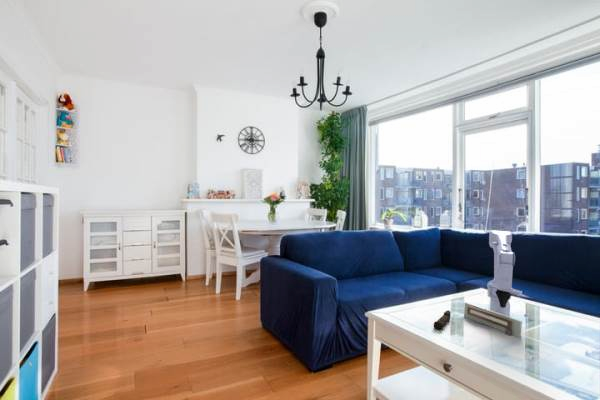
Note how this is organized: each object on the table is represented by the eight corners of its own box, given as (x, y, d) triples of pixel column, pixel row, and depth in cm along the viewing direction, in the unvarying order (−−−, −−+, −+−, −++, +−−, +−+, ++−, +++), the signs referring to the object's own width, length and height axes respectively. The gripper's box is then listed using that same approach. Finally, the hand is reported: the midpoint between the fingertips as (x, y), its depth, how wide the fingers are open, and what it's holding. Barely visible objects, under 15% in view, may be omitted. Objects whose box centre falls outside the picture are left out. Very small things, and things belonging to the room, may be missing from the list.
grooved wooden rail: (468, 313, 164) (468, 305, 164) (511, 329, 146) (511, 320, 146) (467, 314, 163) (467, 306, 163) (509, 329, 146) (510, 320, 146)
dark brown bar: (442, 332, 147) (442, 321, 147) (433, 329, 150) (433, 319, 150) (455, 320, 162) (455, 311, 161) (446, 318, 164) (447, 308, 164)
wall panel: (465, 315, 167) (466, 302, 167) (520, 336, 145) (521, 320, 145) (460, 316, 166) (461, 303, 165) (516, 338, 143) (517, 322, 143)
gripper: (484, 274, 157) (482, 303, 157) (516, 283, 144) (514, 313, 145) (492, 273, 160) (490, 301, 161) (525, 281, 148) (523, 311, 148)
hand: (502, 307), depth 153 cm, fingers closed
